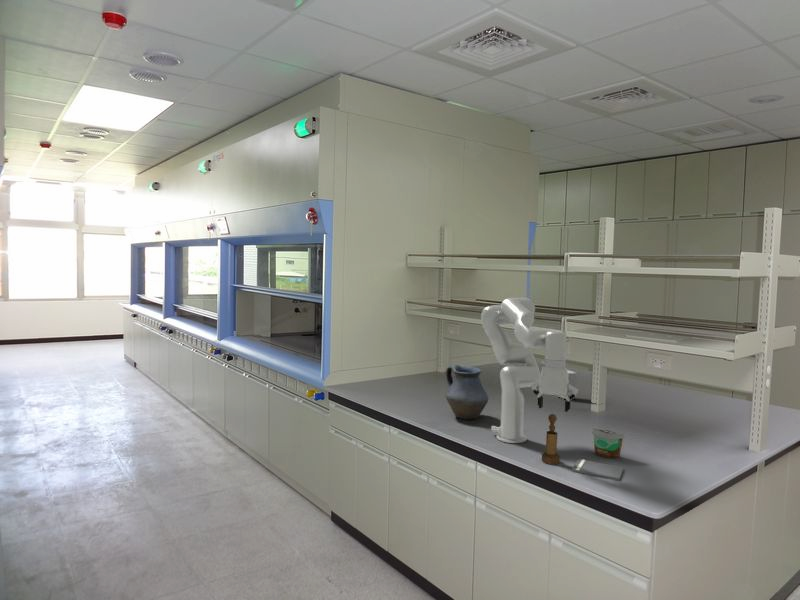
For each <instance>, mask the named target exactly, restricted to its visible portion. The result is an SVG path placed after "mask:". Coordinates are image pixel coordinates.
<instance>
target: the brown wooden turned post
mask: <svg viewBox="0 0 800 600" xmlns="http://www.w3.org/2000/svg"><path fill="white" fill-rule="evenodd" d="M547 417H548V422H549V426H548V430H547V431H546V435H545V437H546V439H545V451H544V452H543V453H542V454H541V461H542V462H543V463H545V464H548V465H558V464H560V459H561V456H560V455H559V454H558V453H557V446H558V432H556V431H555V429H556V426H555V423H556V421H558V419H557V416H556V414H554V413H550V414H549V415H548V416H547Z"/></svg>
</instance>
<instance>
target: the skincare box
mask: <svg viewBox="0 0 800 600" xmlns="http://www.w3.org/2000/svg"><path fill="white" fill-rule="evenodd" d="M567 371H568V380H569V384H570V385H571V386H573V387H575V388H576V389H577V382H578V381H577V380H578V372H576V371H572V370H569V369H567ZM568 394H569V395H570V396H571V395H572V394H573V391H572V390H570V389H569V392H568ZM559 397H562V398H565V397H564V396H559ZM574 398H575V399H576V396H575V397H574Z"/></svg>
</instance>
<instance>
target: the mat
mask: <svg viewBox="0 0 800 600" xmlns="http://www.w3.org/2000/svg"><path fill="white" fill-rule="evenodd" d="M624 470H625V469H624V467H622V466H618V465H611V464H606V463H602V462H601V463H600V462H595V461H589V460H586V459H579V458H578V459H577V460H576V462H575V464H574V465H573V467H572V468H571V472H573V471H574V473H578V472H579V473H580V474H583V473H585V474H584V475H588V474H590V476H593V475H596V476H595V477H598V476H601V477H600V478H603V477H604V479H608V478H609V480H613V479H614V480H615V481H618V480H619V481H620V479H621V477H622V475H623V472H624ZM614 480H613V481H614Z"/></svg>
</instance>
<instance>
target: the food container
mask: <svg viewBox="0 0 800 600" xmlns="http://www.w3.org/2000/svg"><path fill="white" fill-rule="evenodd" d="M591 434H593V443H594V445H593V446H594V447H593V448H594V453H595V454H594V455H596V454H597V455H596V456H598V455H599V456H598V457H601V458H606V459H617V458H620V457H621V451H622V445H623V439H624V438H626V436H625V432H624V431H622V432H620V433H618V432H614V431H611V430H606V429H603V430H602V429H595V427H593V428H592V430H591Z"/></svg>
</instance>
